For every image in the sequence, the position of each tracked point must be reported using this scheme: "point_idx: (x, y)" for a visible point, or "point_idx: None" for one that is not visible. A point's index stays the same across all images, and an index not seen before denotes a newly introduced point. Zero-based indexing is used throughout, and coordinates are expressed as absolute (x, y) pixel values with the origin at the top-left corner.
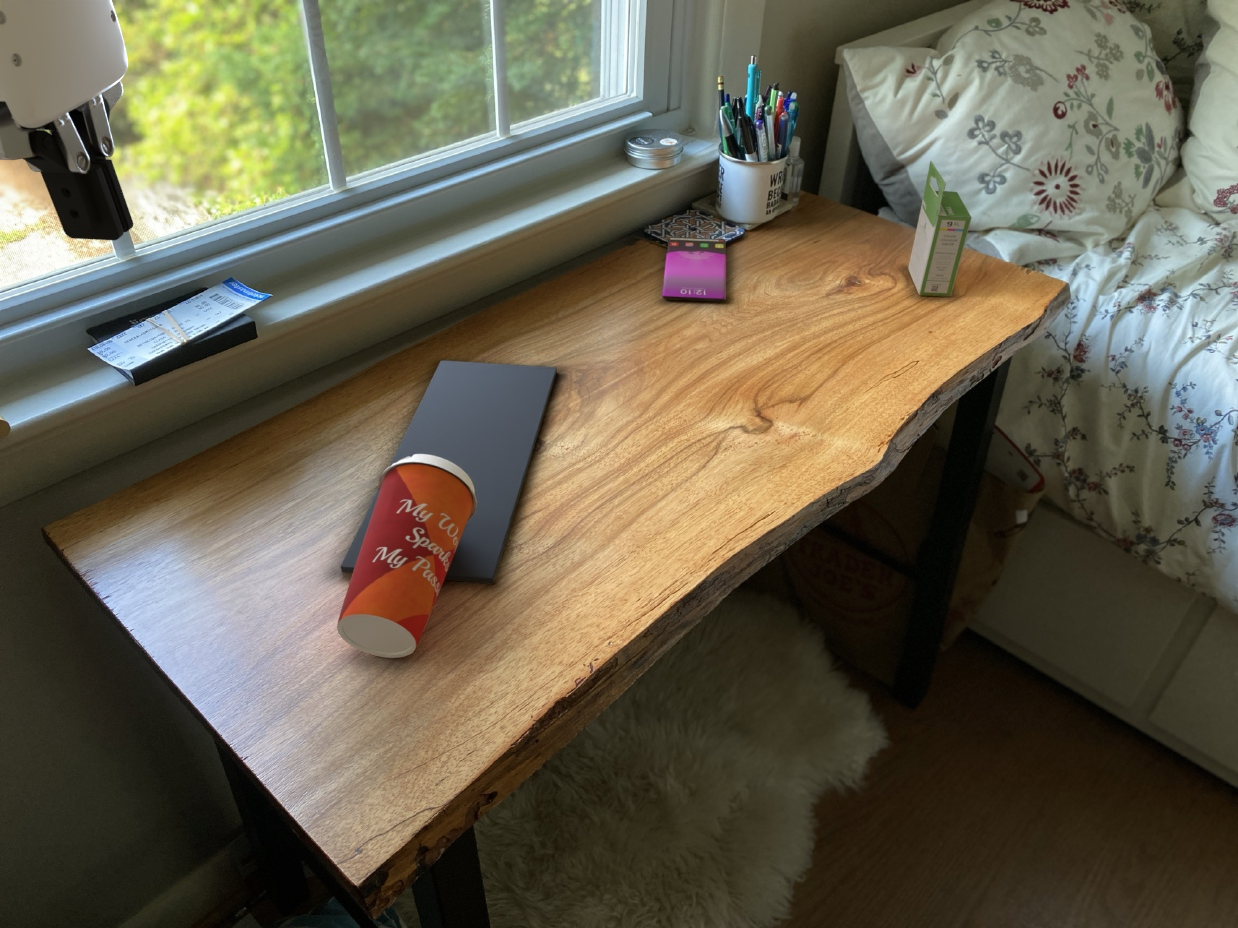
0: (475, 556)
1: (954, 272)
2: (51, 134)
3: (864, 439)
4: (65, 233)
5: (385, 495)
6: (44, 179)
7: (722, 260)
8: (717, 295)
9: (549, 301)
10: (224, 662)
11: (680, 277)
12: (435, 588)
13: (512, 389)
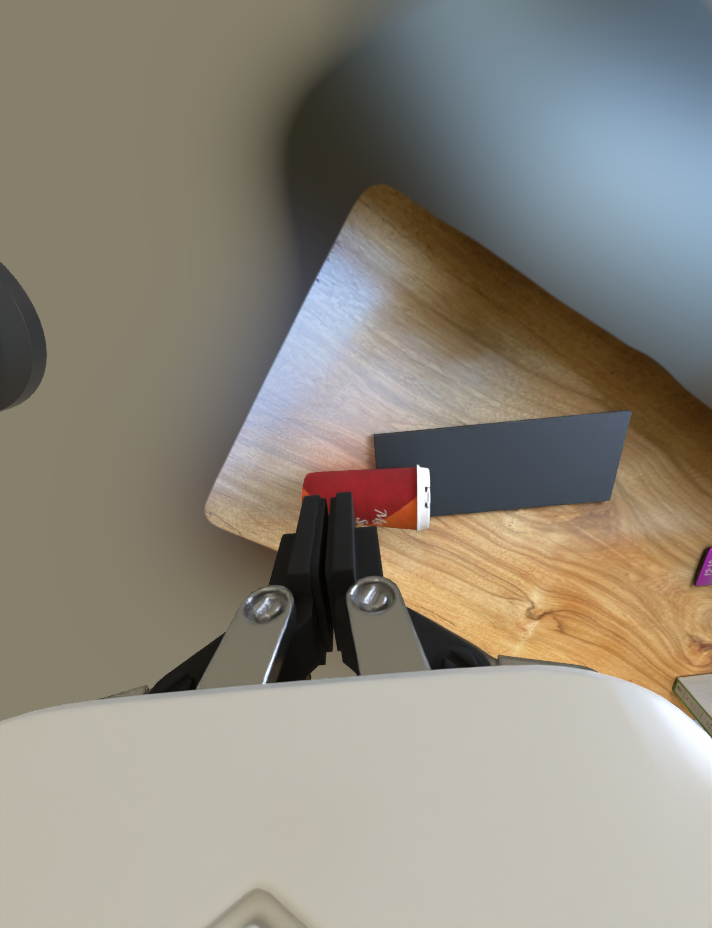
0: None
1: (687, 706)
2: (351, 626)
3: (520, 656)
4: (304, 496)
5: (393, 494)
6: (292, 558)
7: None
8: (701, 582)
9: None
10: (287, 399)
11: None
12: None
13: (580, 478)
